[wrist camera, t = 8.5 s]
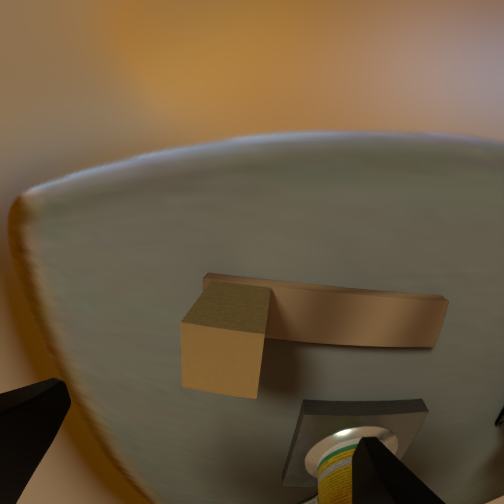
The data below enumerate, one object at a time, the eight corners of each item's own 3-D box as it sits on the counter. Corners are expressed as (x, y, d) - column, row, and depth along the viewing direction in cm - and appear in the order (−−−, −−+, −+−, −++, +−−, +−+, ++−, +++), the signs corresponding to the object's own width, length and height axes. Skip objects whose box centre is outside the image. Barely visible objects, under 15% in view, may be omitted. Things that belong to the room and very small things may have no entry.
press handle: (270, 287, 15) (264, 334, 10) (264, 339, 16) (256, 399, 11) (211, 280, 15) (180, 322, 10) (209, 332, 16) (182, 386, 11)
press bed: (422, 398, 17) (429, 412, 15) (381, 471, 19) (385, 483, 17) (303, 399, 18) (303, 415, 16) (282, 472, 20) (281, 487, 18)
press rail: (441, 295, 15) (449, 301, 14) (428, 339, 16) (434, 347, 15) (207, 272, 16) (203, 278, 15) (205, 321, 17) (201, 329, 16)
